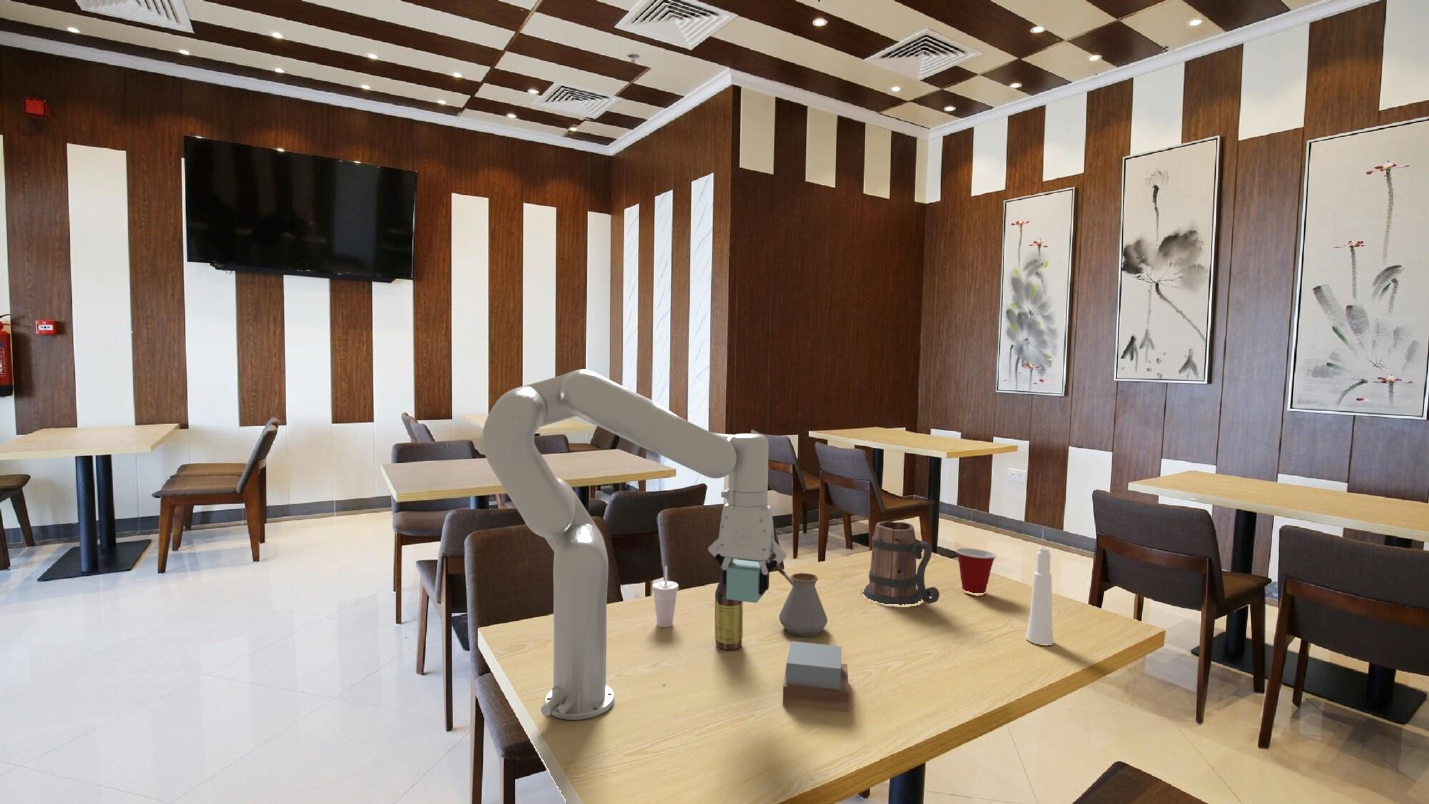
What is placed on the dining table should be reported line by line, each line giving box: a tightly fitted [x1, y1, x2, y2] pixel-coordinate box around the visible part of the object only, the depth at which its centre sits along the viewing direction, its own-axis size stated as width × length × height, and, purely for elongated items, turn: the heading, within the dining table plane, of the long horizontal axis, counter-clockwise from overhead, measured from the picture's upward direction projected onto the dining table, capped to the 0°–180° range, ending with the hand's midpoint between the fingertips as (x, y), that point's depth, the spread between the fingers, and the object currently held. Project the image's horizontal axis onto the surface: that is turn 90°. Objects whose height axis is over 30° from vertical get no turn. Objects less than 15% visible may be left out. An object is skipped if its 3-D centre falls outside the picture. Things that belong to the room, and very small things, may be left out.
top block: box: [785, 640, 842, 690], centre depth 129 cm, size 10×10×4 cm
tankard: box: [863, 521, 940, 605], centre depth 180 cm, size 24×17×20 cm
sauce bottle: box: [714, 559, 744, 651], centre depth 149 cm, size 7×6×20 cm
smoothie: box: [651, 565, 680, 628], centre depth 161 cm, size 6×6×14 cm
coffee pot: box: [768, 556, 828, 637], centre depth 163 cm, size 21×12×15 cm, turn 34°
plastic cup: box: [955, 547, 997, 593], centre depth 188 cm, size 11×11×12 cm
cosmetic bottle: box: [1025, 546, 1055, 645], centre depth 155 cm, size 6×6×22 cm
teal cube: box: [726, 559, 764, 604], centre depth 129 cm, size 6×6×6 cm
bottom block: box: [782, 663, 850, 712], centre depth 129 cm, size 12×12×4 cm
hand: (746, 589), depth 129 cm, fingers closed on teal cube, 6 cm apart
